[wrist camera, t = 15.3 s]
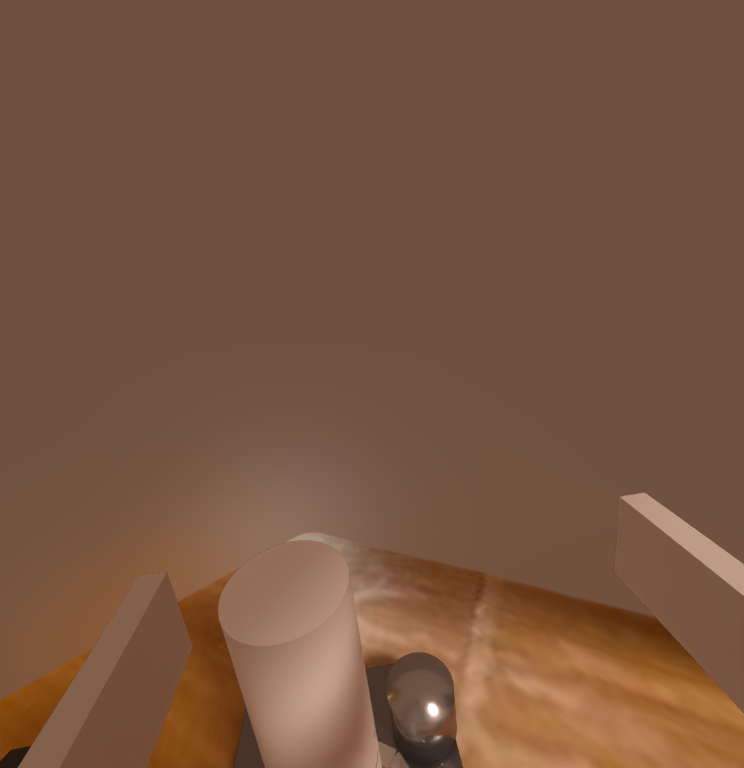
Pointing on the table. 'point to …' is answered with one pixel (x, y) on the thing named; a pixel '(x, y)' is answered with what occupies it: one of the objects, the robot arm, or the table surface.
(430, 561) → the table surface
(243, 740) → the carrier
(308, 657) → the cylindrical container
